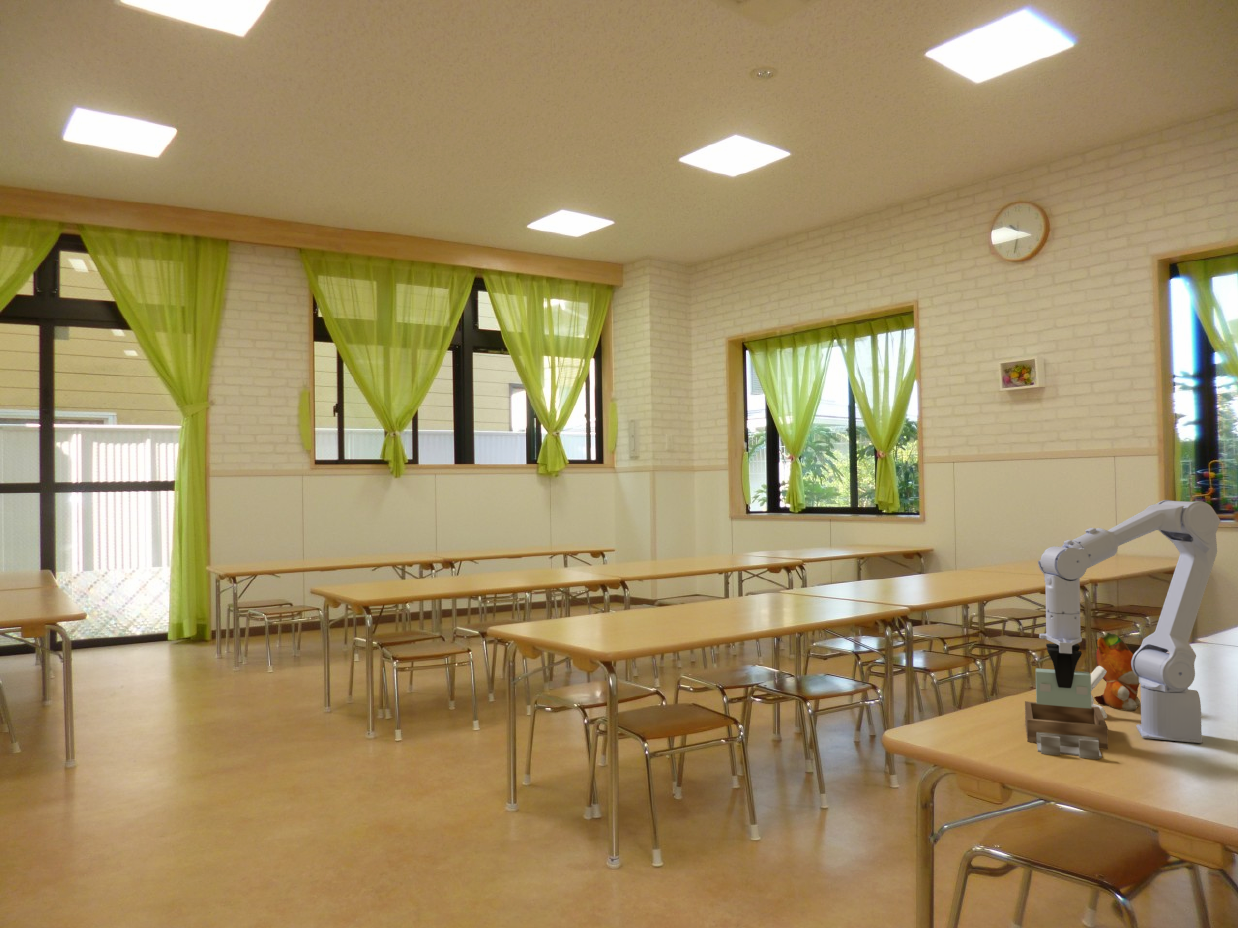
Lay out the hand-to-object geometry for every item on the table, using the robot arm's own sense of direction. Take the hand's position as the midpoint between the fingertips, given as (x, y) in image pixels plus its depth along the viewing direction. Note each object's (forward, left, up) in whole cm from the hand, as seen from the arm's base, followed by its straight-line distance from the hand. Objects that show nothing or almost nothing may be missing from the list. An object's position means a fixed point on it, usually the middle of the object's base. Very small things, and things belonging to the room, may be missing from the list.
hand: (1064, 685), depth 164 cm
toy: (-12, -30, -10) cm, 34 cm away
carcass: (0, 0, -10) cm, 10 cm away
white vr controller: (-5, -20, -10) cm, 23 cm away
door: (0, 0, -3) cm, 4 cm away
